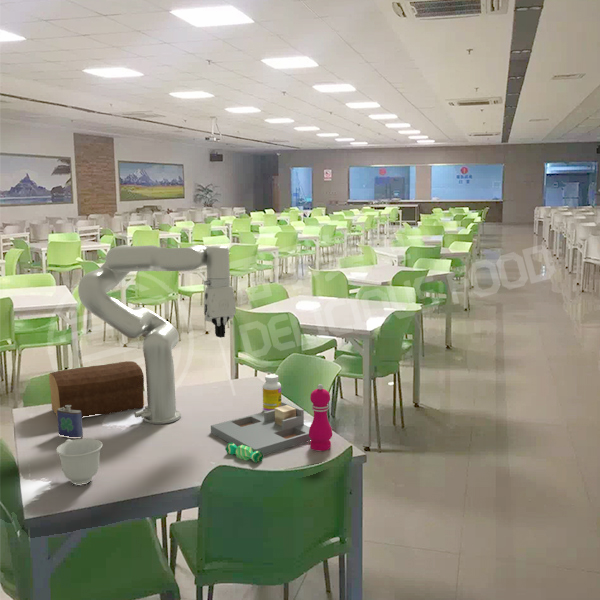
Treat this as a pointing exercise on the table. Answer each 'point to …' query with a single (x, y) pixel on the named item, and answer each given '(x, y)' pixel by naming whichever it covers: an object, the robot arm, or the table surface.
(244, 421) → the plate
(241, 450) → the candy
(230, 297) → the robot arm
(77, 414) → the flask
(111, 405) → the bread
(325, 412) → the pepper mill
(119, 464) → the table surface
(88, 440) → the teacup
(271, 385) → the supplement bottle
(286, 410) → the block
